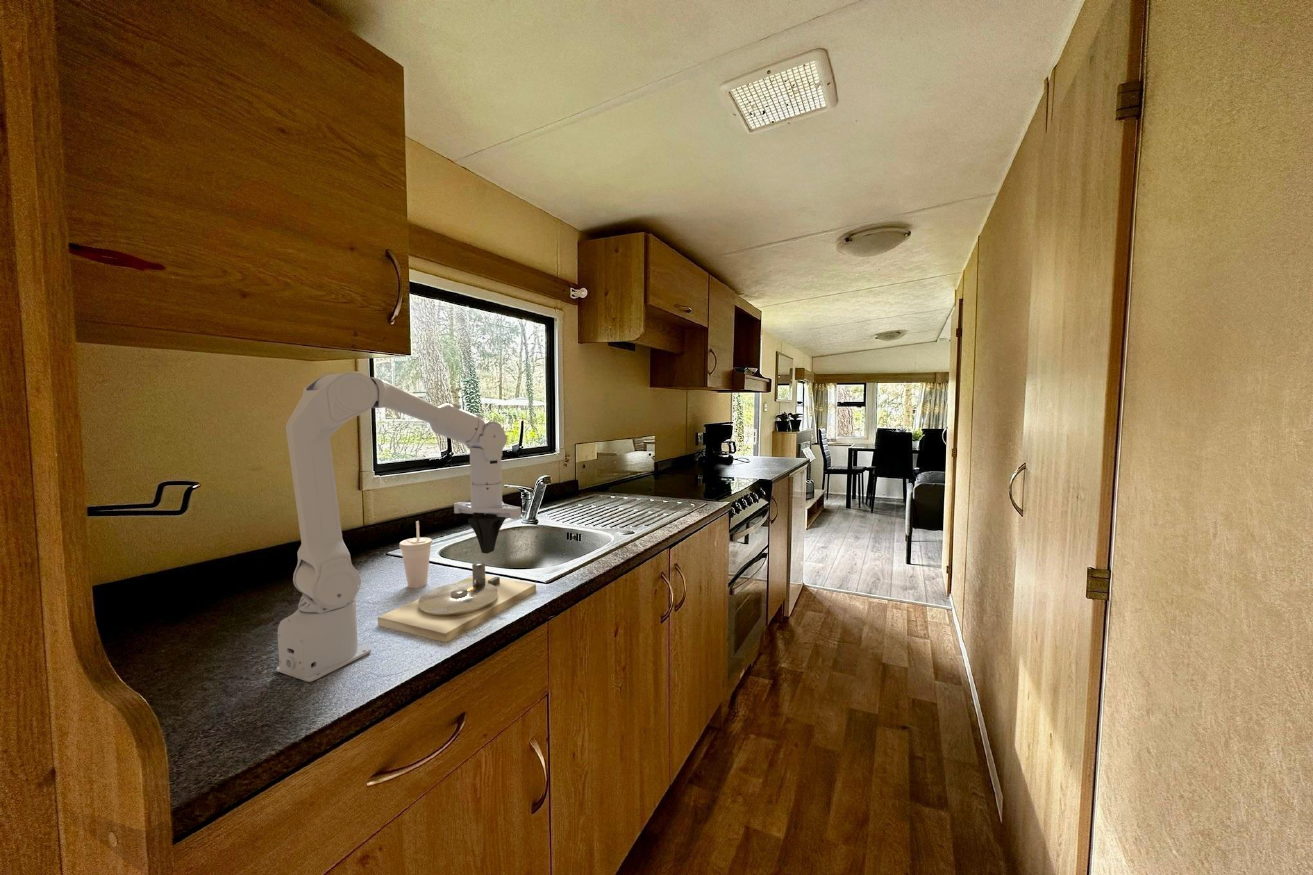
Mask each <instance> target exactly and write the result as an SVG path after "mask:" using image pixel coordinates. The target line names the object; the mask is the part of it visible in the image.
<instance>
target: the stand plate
mask: <svg viewBox="0 0 1313 875" xmlns="http://www.w3.org/2000/svg"><path fill="white" fill-rule="evenodd" d="M462 582H473V575H471V576H469V577H467V578H464V579H462V580H459V581H458V582H456V583H462ZM485 583H488V584H491V585H494V586H495V587H496V588H497V590H498V597H497V599H496V601H495V602H493V603H492V604H491V605H489V606H487V607H485V608H483V609H480V610H477V611H474V612H470V613H466V614H461V615H453V616H434V615H429V614H426V613H423V612H421V611H420V609H419V599H420V598H417V599H415V600H414V601H411V602H409V603H406V604H405V605H402V606H400V607H398V608H397V607H396V608H395V609H394V610H391V611H389V612H387V613H384V614H382V615H380V616H378V617H377V626H380V627H383V628H387V629H390V630H391V629H392V630H394V631H399V632H402V633H403V632H404V633H407V634H411V635H414V636H419V637H424V638H427V639H431V640H435V641H437V642H438V641H439V642H443V643H447V642H449V641H450V640H453V639H454V638H456V637H458V636H459V635H461V634H463V633H465V632H466V631H468V630H471V629H472V628H474V627H476V626H477V625H479V624H480V623H483V622H484V621H486V620H488V619H490V618H491V617H493V616H494V615H497V614H499V613H500V612H502V611H503V610H505V609H507V608H509V607H511V606H512V605H515V604H516V603H518V602H520V601H521V600H524V599H525V598H527V597H528V596H530V595H532V594H534V593H536V592H537V585H536V583H531V582H526V581H521V580H520V581H519V580H513V579H507V578H502V577H500V576H491V575H485Z"/></svg>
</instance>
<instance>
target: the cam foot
mask: <svg viewBox="0 0 1313 875" xmlns="http://www.w3.org/2000/svg"><path fill="white" fill-rule="evenodd" d="M471 569H472V570H471V571H472V572H471V573H472V576H473V582H462V583H457V582H455V583H450V584H445V585H441V586H439V587H436V588H432V589H431V590H428V591H426V592H424V593H423V594H422V595H421V596H420V597H419V598H418V599H419V609H420V611H421V612H423V613H426V614H429V615H434V616H453V615H461V614H466V613H470V612H474V611H477V610H480V609H483V608H485V607H487V606H489V605H491V604H492V603H493V602H495V601H496V599H497V597H498V590H497V588H496V587H495V586H494V585H491V584H488V583H485V576H486V563H485V562H482V561H481V562H475V563H472V568H471Z"/></svg>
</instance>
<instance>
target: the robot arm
mask: <svg viewBox="0 0 1313 875" xmlns="http://www.w3.org/2000/svg"><path fill="white" fill-rule="evenodd" d="M382 408H383V409H384V408H386V409H389V410H392V411H394V412H397V413H400V414H402V415H406V416H407V417H408V416H409V417H411V418H415V419H418V420H421V421H422V422H426V423H428V424H429V425H430V429H431V430H432V432H433V433H435V434H437V435H439V436H442V437H445V438H448V439H450V440H452V441H455V442H457V443H458V442H459V443H461V444H464V445H465V447H466V448H467V449H469V469H470V470H469V472H470V474H469V475H470V477H469V478H470V501H459V502H455V503H453V510H454V512H453V513H454V514H461V513H462V514H471V515H472V517H469V518H467V520H468V521H467V522H468V524H469V525H470V526H471V528H472V530H473V532H474V534H475V536H476V539H477V541H478V546H479V547H480V548H479V549H480V550H481V553H482V554H490V553H493V552H494V551H495V549H496V548H495V547H496V542H497V539H498V535H499V533H500V530H501V528H502V526H503V524H504V522H505V520H506V518H508V519H509V518H510V520H516V519H519V518H521V517H522V507H521V506H515V505H510V504H507V503H504V501H503V482H502V481H503V480H502V477H503V475H502V457H503V449H504V448H505V446H506V444H507V443H508V442H507V441H508V435H507V434H506V433H505V432H506V431H505V429H504V427H502V425H501V424H500V423H498V422H497V421H494V420H493V421H492V420H484V418H483V417H484V416H483V415H481V414H479V413H476V414H473V413H471V412H469V411H466V410H464V409H462V405H461V404H459V403H457V402H452V403H443V404H441V405H436V404H433V403H432V402H429V401H427V400H425V399H424V398H421V397H419V396H417V395H415V394H414V393H413V394H412V393H410V392H408V391H405V390H404V389H402V388H401V387H398V386H396V385H394V384H391V383H389V382H388V381H385V380H383V379H381V378H378V377H373V376H370V377H369V376H368V375H366V373H365V374H364V373H362V372H360V371H355V370H354V371H352V370H351V371H345V372H342V373H327V374H323V375H321V376H318V377H317V378H316V379H314V380H313V381H312V382H310V383H308V385H306V386H305V387H304V388H303V391H302V396H301V398H300V399H299V401H298V403H297V405H296V406H295V408H294V410H293V412H292V413H291V415H290V416H289V418H288V421H287V422H286V424H285V425H286V426H285V432H286V440H287V446H288V447H287V448H288V453H289V454H288V455H289V461H290V468H291V470H290V471H291V476H292V484H293V492H294V497H295V505H296V506H295V507H296V512H297V513H296V515H297V520H298V527H299V528H298V529H299V534H300V543H301V544H300V546H299V548H298V550H297V564H296V567H295V570H294V571H293V578H292V581H293V585H294V587H295V588H296V590H298V592H300V593H302V596H301V597H300V600H299V603H298V608H297V609H296V611H295V612H293V613H292V614H291V615H289V616H287V617H285V618H283V619H282V620H280V622H279V624H278V627H277V650H278V665H279V666H277V667H276V672H279V673H282V674H285V675H286V676H291V677H292V678H295V679H298V680H299V679H300V680H302V681H304V682H308V683H311V682H314V681H315V680H316V681H317V680H318V679H320V678H322V677H325V676H326V675H329V674H330V673H332V672H334V671H336V670H338V669H340V668H342V667H344V666H345V665H348V664H350V663H352V662H355V661H356V660H358V659H360V658H362V657H364V656H366V655H368V654H370V653H371V652H372V648H369V647H367V646H363V645H359V643H358V626H357V625H358V622H357V620H358V619H357V603H356V601H357V600H356V596H357V594H358V593H359V590H360V588H361V582H362V581H361V580H362V579H361V575H360V573H359V571H358V570H357V569H356V568H355V567H354V565H353V564H352V563H353V562H352V559H351V554H350V551H349V549H348V548H347V546H346V544H345V542H344V539H343V532H342V525H341V524H342V523H341V516H340V508H339V501H338V492H337V484H336V478H335V469H334V462H333V453H332V445H331V437H332V435H333V434H334V433H335V432H336V431H338V430H339V429H340V428H341V427H342V426H343V425H344V424H345V423H346V422H347V421H349V420H352V419H354V418H356V417H358V416H360V415H362V414H364V413H366V412H368V411H369V410H371V409H382Z"/></svg>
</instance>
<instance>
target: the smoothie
mask: <svg viewBox="0 0 1313 875" xmlns="http://www.w3.org/2000/svg"><path fill="white" fill-rule="evenodd" d="M415 528H416V533H415V534H416V537H413V538H407V539H404V540H402V541H400V542H399V549H401V555H402V560H403V566H404V572H405V576H406V577H405V578H406V582H407V583H406V584H407V587H408V588H410V589H417V588H422V587H424V586H427V584H428V577H429V576H428V574H429V566H430V556H431V555H430V554H431V546H432V545H433V539H432V538H431V537H425V536H424V537H423V536H422V537H421V536H420V521H419V520H417V521H415Z"/></svg>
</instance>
